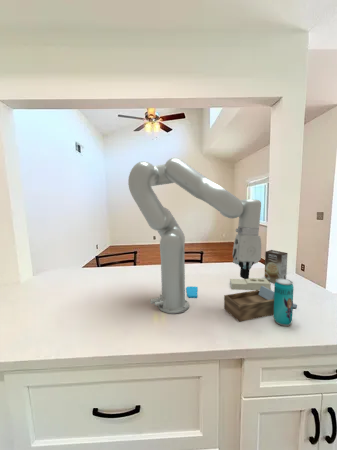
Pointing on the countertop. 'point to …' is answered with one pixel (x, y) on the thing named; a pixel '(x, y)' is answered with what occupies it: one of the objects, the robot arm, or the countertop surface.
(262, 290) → the cover plate
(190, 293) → the sponge
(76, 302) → the countertop surface
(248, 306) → the walnut box
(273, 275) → the coffee box
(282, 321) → the beverage can
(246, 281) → the electrical outlet
